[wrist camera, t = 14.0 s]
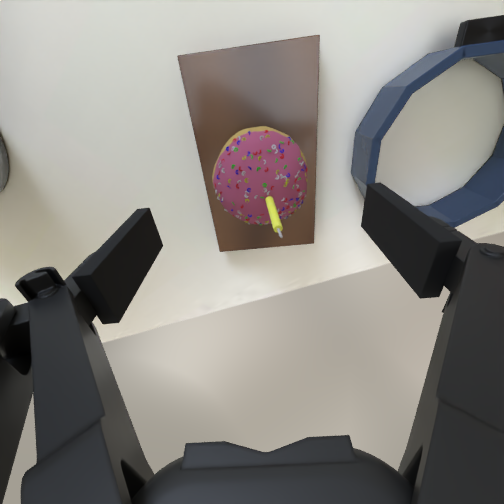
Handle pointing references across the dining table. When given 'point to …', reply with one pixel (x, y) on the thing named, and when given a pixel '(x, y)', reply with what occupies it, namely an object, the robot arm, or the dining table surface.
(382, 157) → the dining table surface
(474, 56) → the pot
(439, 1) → the dining table surface
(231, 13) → the dining table surface
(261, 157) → the cupcake
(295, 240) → the cutting board
